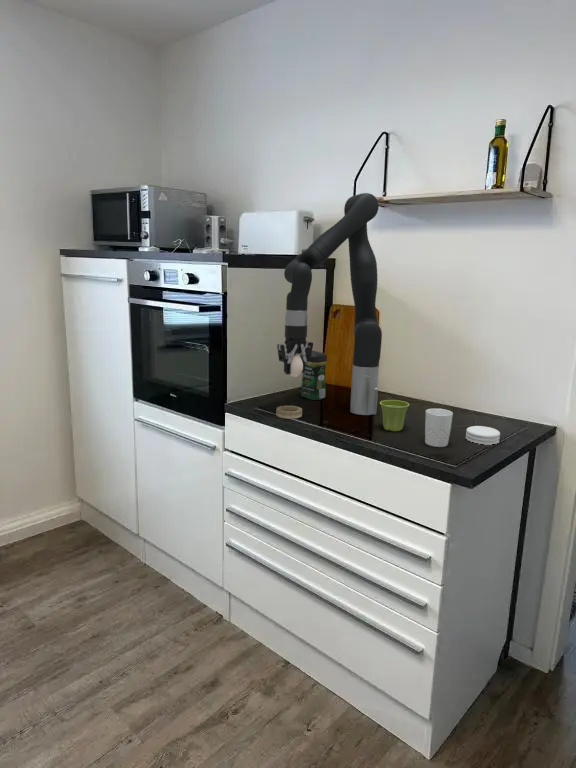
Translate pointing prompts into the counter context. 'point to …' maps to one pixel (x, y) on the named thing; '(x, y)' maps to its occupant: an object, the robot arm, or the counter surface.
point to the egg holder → (289, 412)
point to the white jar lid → (482, 435)
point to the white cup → (437, 427)
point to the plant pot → (393, 414)
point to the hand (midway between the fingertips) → (294, 373)
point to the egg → (296, 366)
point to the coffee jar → (314, 377)
